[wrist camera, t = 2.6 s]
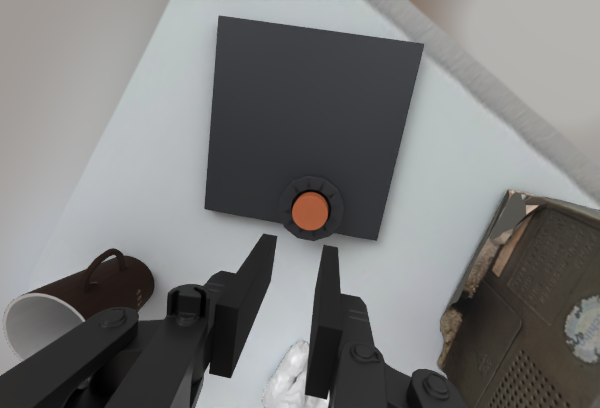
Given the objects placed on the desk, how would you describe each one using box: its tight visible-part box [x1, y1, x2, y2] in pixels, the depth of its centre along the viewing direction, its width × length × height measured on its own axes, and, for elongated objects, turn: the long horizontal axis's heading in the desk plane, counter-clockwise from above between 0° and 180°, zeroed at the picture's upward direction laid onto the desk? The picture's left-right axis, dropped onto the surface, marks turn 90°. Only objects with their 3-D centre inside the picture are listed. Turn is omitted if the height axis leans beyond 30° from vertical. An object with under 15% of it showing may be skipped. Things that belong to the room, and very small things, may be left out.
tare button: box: [292, 192, 328, 230], centre depth 26 cm, size 3×3×2 cm
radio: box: [437, 190, 600, 408], centre depth 23 cm, size 23×9×15 cm, turn 161°
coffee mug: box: [3, 249, 154, 362], centre depth 29 cm, size 12×9×10 cm
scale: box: [205, 16, 424, 241], centre depth 26 cm, size 18×19×3 cm
